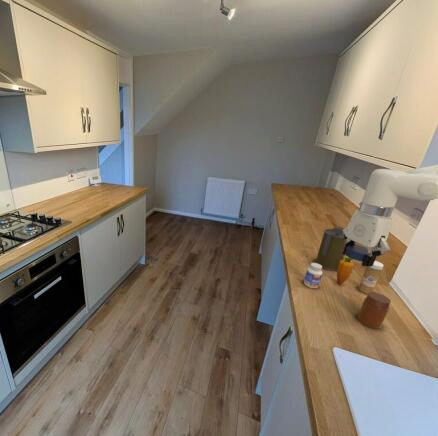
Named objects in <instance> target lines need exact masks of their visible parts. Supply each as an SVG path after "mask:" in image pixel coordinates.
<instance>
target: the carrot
mask: <svg viewBox="0 0 438 436" xmlns="http://www.w3.org/2000/svg"><path fill="white" fill-rule="evenodd" d="M343 257H344V258H343V260H340V262H339V266H338V270H337V271H336V280H337V284H339V285H341V284H343V283H345V282H346V281H347V280H348V278H349V277H351V274H352V271H353V269H354V264H355V263H354V262H353V261H352V260H354V259H352V258H350V257H348V256H346V255H345V256H343Z"/></svg>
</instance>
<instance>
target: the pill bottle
mask: <svg viewBox="0 0 438 436" xmlns="http://www.w3.org/2000/svg"><path fill="white" fill-rule="evenodd" d="M322 270H323V268H322V266H321V265H320V264H317V263H315V262H311V263H310V265H309V267H307V269H306V273H305V276H304V279H303V284H304V285H305V286H306V287H308V288H311V289H317V288H319V286H320V283H321V280H322V276H323V271H322Z"/></svg>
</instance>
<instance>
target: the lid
mask: <svg viewBox="0 0 438 436" xmlns="http://www.w3.org/2000/svg"><path fill="white" fill-rule="evenodd" d="M345 254H346V255H345V257H346V256H348V257H349V258H352V259H353V260H354V261H358V262H363V260H364V257H365V255H368V251H367V247H365V246H362V245H357V244H356V245H349V246H347V248H346V251H345Z"/></svg>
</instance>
